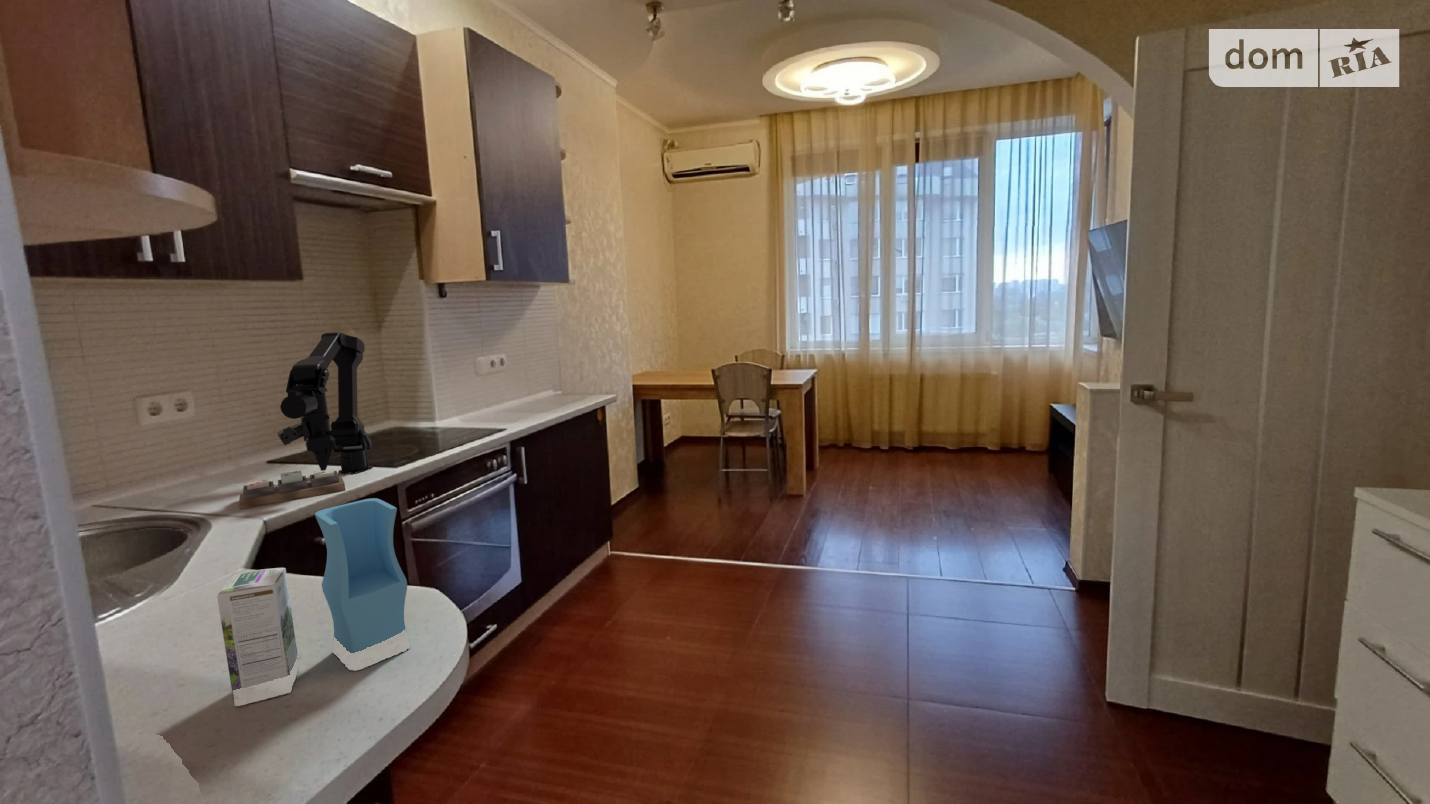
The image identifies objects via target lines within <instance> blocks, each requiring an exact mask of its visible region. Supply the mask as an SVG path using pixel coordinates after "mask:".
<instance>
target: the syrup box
mask: <svg viewBox="0 0 1430 804" xmlns="http://www.w3.org/2000/svg"><path fill="white" fill-rule="evenodd" d="M286 569H287V568H286V567H275V568H264V569H256V570H250V571H246V572H242V573H238V574H235V575H232V576H231V577H230V578H229V579H228V581H227V582H226V583H225V585H224V586H223V588H222V589H221V590H220V591H219V593H218V594H217V603H218V610H219V616H220V623H221V629H222V637H223V642H224V649H225V655H226V662H227V667H228V675H229V680H230V685H231V686H230V687H231V692H232V691H233V690H236V689H240V688H247V687H250V686H253V685H258V684H261V683H265V682H268V681H273V680H274V679H278V678H283V677H286V676H288V675H290V671H291V670H292V668H293V666H294V663H295V661H296V659H297V656H298V657H299V655H298V648H297V642H296V635H295V634H296V633H295V627H294V618H293V611H292V605H291V597H290V590H289V586H288V585H289V584H288V577H287V570H286Z"/></svg>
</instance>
